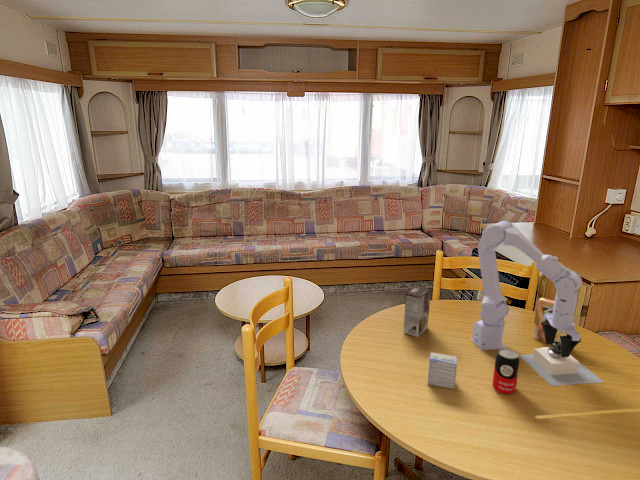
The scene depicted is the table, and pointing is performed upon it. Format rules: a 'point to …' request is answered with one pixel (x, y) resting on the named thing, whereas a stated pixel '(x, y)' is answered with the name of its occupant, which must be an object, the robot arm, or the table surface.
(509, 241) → the robot arm
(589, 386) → the table surface
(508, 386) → the beverage can
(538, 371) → the board
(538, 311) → the candy box
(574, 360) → the box
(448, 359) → the medicine box
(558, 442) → the table surface
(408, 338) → the table surface
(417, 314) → the coffee box
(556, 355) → the plunger
